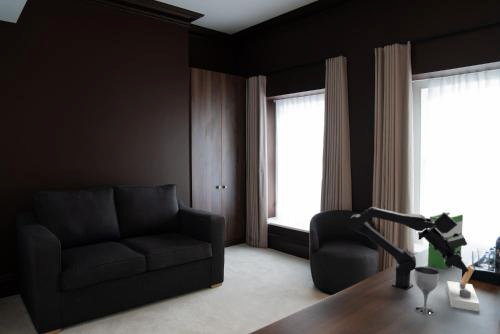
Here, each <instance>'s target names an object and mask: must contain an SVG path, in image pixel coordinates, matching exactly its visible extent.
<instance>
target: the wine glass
mask: <svg viewBox="0 0 500 334" xmlns="http://www.w3.org/2000/svg"><path fill="white" fill-rule="evenodd" d="M439 277H440V271H439V270H438V269H436V268H433V267H429V266H416V267H415V269H414V281H415V282H414V283H415V284H416V286H417V287H418V289H419V290H420V291H421V293H422V295H423V302H424V303H423V305H418V306H415V307H414V311H415V312H416V313H419V314H422V315H424V316H434V315H436V314H437V311H436V310H435V309H434V308H431V307H429V306H427V301H428V297H429V295H430V294H431V292H433V291H434V290H435V289H436V288H437V286H438V283H439Z"/></svg>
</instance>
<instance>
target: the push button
mask: <svg viewBox="0 0 500 334" xmlns="http://www.w3.org/2000/svg"><path fill="white" fill-rule="evenodd" d="M460 296H462V297H466V298H469V297H471V292H469V291H466V290H460Z"/></svg>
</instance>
